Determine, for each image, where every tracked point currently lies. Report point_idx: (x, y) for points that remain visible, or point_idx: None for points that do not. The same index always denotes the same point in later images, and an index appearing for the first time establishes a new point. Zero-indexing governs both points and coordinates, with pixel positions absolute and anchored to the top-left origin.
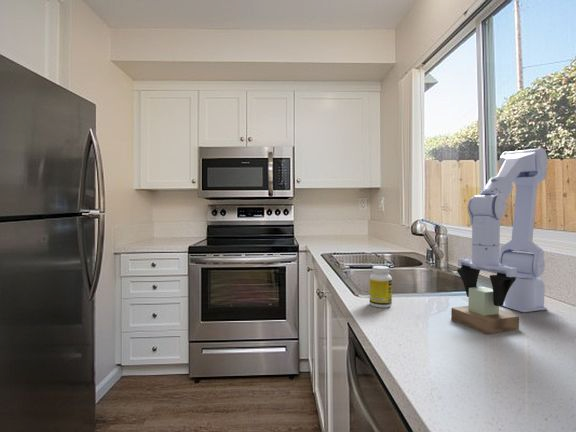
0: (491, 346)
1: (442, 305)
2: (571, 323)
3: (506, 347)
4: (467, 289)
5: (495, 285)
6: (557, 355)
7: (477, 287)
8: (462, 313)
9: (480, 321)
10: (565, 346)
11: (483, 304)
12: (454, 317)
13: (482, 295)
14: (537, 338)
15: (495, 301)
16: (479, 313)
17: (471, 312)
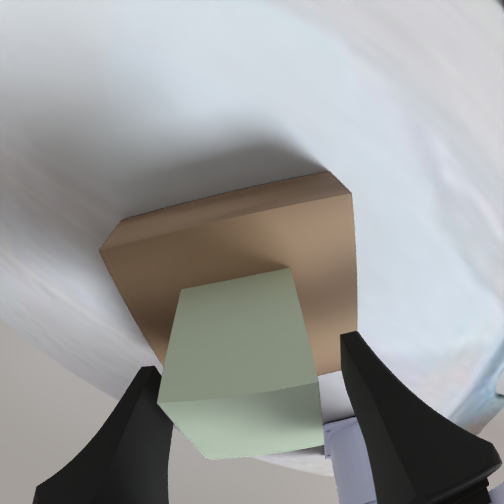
0: (16, 170)
1: (482, 252)
2: None
3: (18, 217)
4: (359, 368)
5: (85, 466)
6: (12, 311)
7: (310, 423)
8: (258, 208)
9: (134, 235)
10: (73, 366)
11: (176, 332)
12: (311, 180)
13: (180, 378)
14: (112, 352)
15: (131, 383)
16: (211, 285)
17: (241, 257)
